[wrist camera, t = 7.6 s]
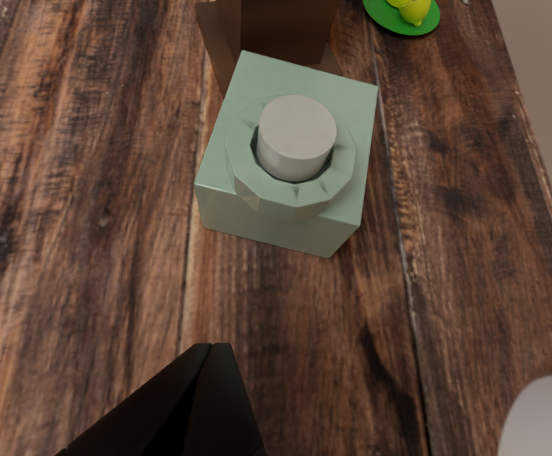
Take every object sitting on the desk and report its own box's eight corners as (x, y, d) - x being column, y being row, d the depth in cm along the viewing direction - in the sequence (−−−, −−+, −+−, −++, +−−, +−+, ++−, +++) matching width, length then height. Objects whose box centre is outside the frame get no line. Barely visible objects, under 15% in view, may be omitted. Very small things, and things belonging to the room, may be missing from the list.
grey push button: (319, 190, 17) (330, 167, 15) (248, 171, 17) (250, 147, 15) (330, 132, 18) (342, 105, 16) (265, 115, 18) (269, 85, 16)
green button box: (327, 269, 23) (372, 226, 16) (199, 237, 23) (183, 178, 15) (347, 143, 27) (391, 62, 20) (239, 115, 27) (242, 22, 20)
